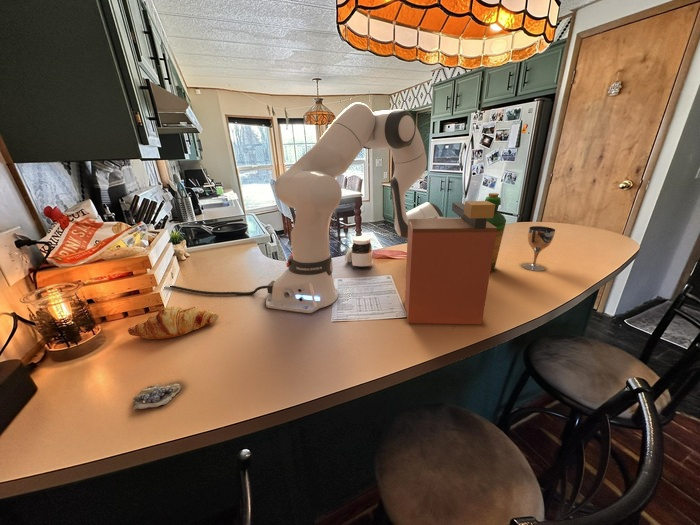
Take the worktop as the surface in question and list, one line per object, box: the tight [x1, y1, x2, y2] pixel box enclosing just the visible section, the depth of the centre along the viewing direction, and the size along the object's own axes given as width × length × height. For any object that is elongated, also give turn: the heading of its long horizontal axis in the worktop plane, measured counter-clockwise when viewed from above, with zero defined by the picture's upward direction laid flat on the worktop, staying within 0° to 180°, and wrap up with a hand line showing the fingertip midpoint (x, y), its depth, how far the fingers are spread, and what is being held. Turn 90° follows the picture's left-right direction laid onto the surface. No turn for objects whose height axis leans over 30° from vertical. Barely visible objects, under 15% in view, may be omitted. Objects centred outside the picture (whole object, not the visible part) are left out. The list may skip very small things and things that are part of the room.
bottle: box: [484, 192, 507, 272], centre depth 101 cm, size 11×11×28 cm
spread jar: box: [344, 235, 373, 270], centre depth 112 cm, size 12×11×12 cm
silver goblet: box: [522, 225, 556, 272], centre depth 103 cm, size 8×8×15 cm
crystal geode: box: [131, 383, 182, 410], centre depth 54 cm, size 7×8×2 cm
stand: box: [404, 217, 497, 325], centre depth 73 cm, size 19×10×26 cm, turn 85°
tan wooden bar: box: [451, 200, 495, 229], centre depth 72 cm, size 5×21×5 cm, turn 175°
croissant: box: [127, 306, 219, 340], centre depth 74 cm, size 21×10×8 cm, turn 111°
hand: (450, 218), depth 89 cm, fingers open, 8 cm apart
